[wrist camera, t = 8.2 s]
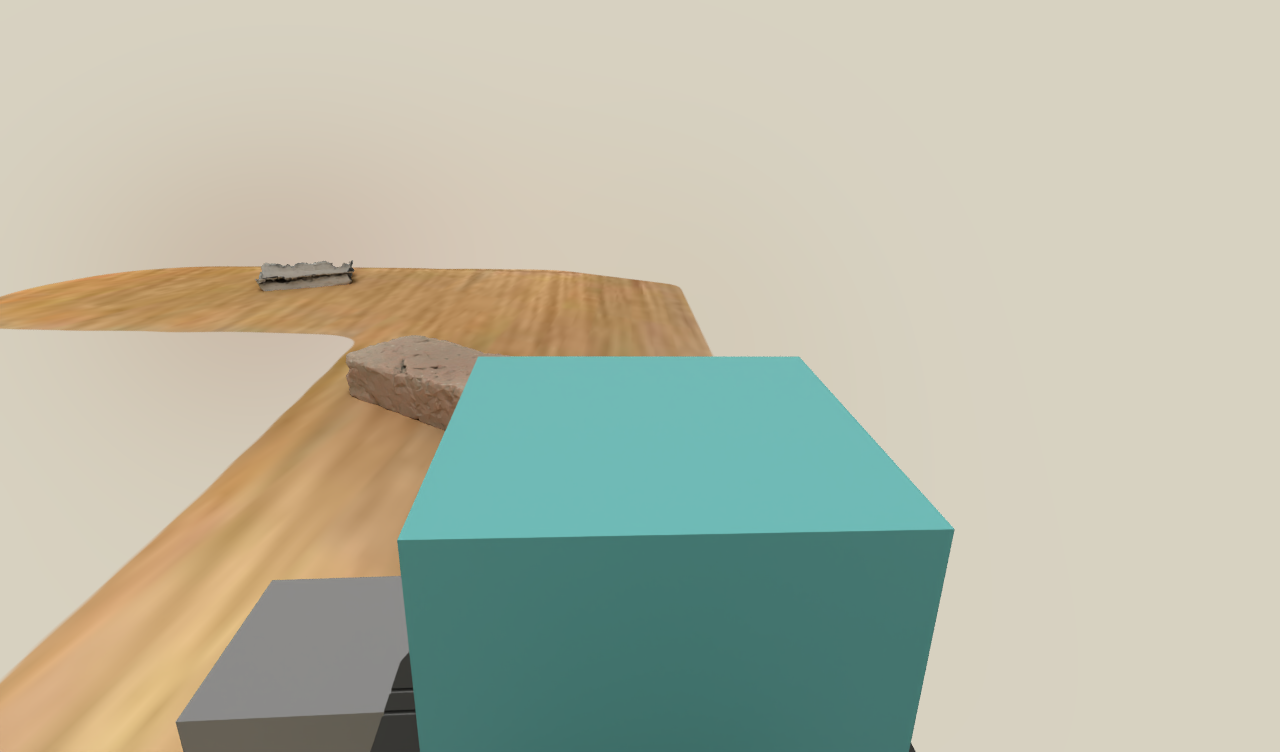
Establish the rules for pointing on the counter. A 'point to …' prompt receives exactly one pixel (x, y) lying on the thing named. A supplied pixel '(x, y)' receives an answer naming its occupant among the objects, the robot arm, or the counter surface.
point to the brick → (413, 376)
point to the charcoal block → (303, 670)
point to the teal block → (666, 564)
